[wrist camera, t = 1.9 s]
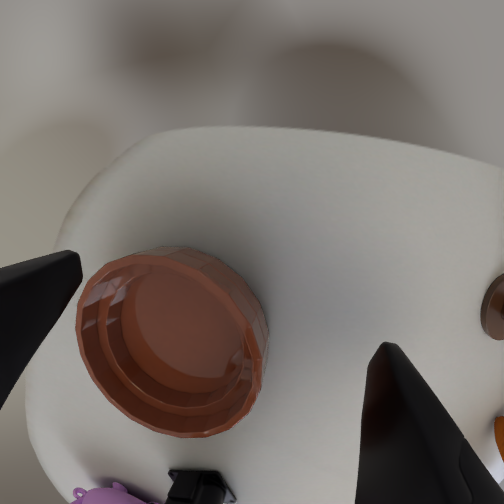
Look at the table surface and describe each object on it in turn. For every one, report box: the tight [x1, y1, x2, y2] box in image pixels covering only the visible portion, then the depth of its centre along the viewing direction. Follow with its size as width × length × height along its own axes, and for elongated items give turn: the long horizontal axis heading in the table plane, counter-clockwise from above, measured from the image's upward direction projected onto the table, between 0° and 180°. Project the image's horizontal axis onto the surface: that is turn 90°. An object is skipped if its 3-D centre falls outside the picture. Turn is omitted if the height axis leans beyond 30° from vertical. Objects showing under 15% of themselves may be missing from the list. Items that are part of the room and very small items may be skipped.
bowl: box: [75, 246, 269, 438], centre depth 20 cm, size 14×14×5 cm
